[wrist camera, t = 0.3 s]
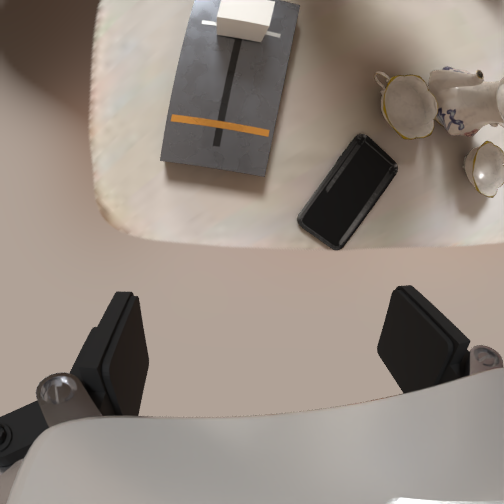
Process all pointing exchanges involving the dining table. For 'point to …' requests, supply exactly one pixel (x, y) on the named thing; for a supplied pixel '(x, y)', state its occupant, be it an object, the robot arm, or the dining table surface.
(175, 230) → the dining table surface
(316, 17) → the dining table surface
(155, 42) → the dining table surface
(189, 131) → the fader console
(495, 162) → the chinaware
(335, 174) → the phone
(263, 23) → the fader tab
